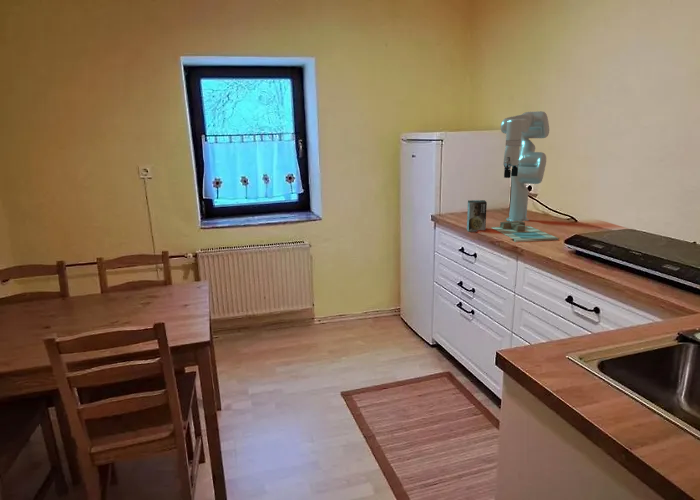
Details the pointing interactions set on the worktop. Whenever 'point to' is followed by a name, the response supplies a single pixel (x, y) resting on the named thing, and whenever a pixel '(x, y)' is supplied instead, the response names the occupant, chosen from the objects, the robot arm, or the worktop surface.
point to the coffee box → (476, 215)
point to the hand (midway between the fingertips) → (510, 176)
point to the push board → (526, 234)
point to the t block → (513, 226)
